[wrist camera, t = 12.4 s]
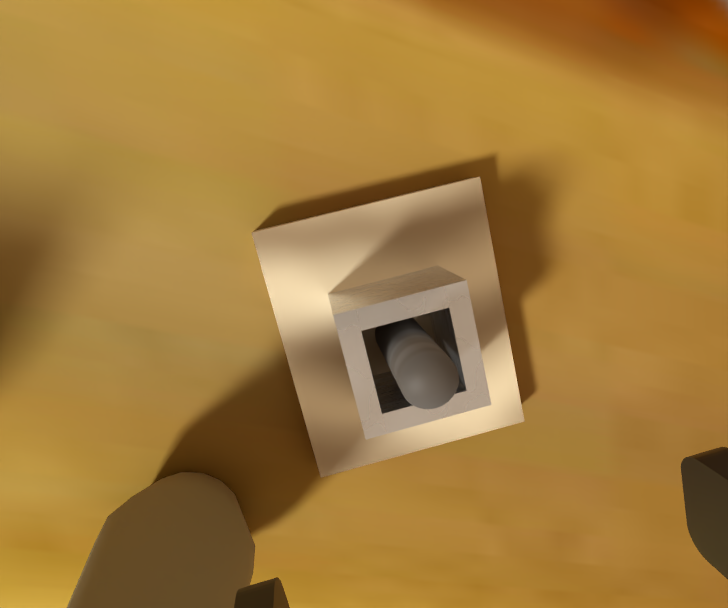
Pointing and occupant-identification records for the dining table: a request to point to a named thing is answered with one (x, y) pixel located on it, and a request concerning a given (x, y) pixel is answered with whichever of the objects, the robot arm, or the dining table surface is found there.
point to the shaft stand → (394, 340)
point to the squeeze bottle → (170, 549)
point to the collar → (452, 334)
